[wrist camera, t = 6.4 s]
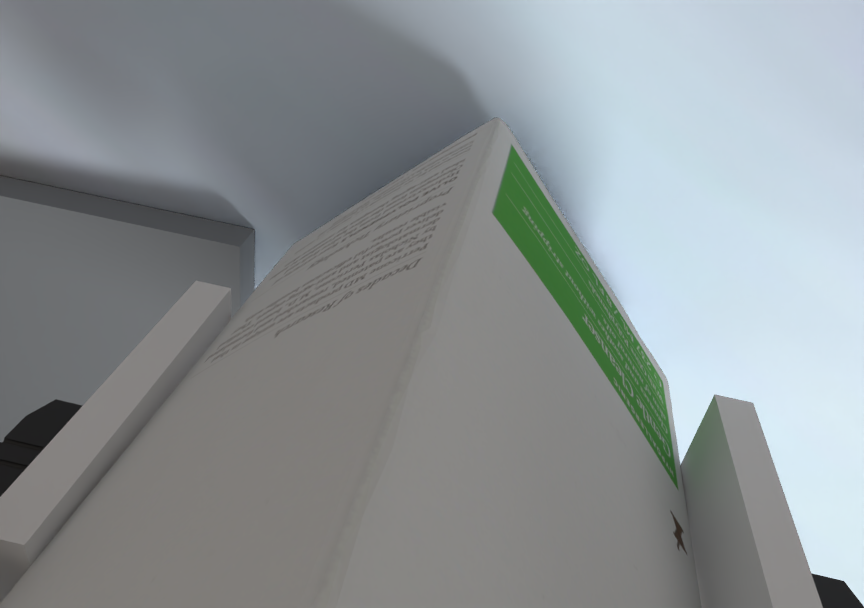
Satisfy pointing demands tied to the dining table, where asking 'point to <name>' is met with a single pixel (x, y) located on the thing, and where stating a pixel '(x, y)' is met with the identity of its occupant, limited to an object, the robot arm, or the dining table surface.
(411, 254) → the skincare box
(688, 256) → the dining table surface
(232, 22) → the dining table surface
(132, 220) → the slate mat
